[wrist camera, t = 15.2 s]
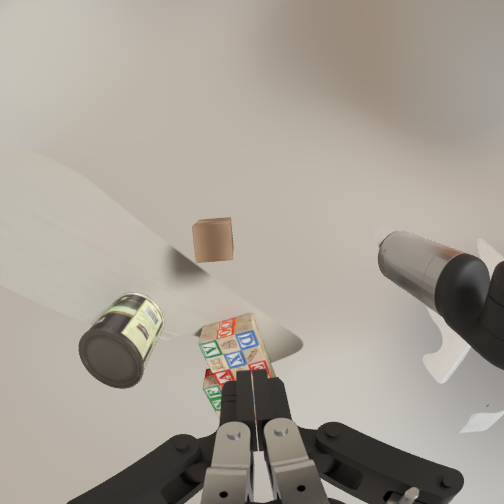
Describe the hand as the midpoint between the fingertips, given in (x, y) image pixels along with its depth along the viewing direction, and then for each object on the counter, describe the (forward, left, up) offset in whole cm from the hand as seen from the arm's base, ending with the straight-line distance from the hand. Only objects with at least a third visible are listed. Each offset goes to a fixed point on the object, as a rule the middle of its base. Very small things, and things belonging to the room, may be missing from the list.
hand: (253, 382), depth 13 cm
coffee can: (+20, +12, -33) cm, 41 cm away
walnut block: (+4, -2, -33) cm, 33 cm away
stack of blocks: (-4, +22, -30) cm, 37 cm away
